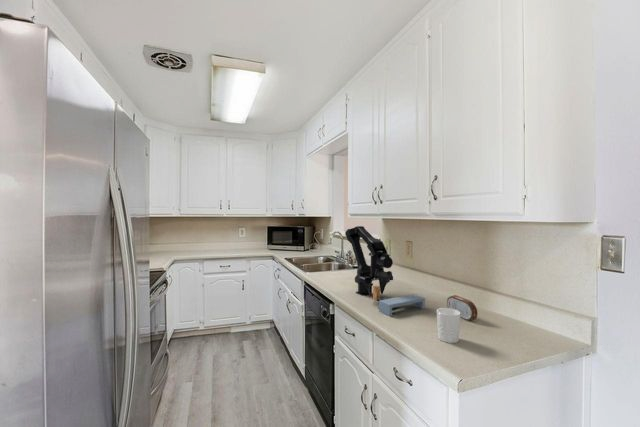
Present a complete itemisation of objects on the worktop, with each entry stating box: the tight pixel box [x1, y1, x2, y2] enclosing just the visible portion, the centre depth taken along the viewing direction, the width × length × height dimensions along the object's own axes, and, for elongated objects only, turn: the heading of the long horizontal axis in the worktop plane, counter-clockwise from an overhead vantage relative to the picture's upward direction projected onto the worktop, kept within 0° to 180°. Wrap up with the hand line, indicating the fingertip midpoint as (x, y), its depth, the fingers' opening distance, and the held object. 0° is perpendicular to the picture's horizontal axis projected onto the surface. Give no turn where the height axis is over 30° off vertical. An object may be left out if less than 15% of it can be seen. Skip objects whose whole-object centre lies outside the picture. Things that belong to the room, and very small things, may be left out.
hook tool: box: [372, 285, 398, 310], centre depth 145 cm, size 16×7×7 cm, turn 32°
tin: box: [446, 295, 478, 321], centre depth 126 cm, size 15×3×8 cm, turn 18°
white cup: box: [436, 307, 461, 344], centre depth 104 cm, size 8×8×10 cm
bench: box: [378, 293, 426, 317], centre depth 136 cm, size 7×22×5 cm, turn 119°
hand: (376, 294), depth 152 cm, fingers open, 7 cm apart
